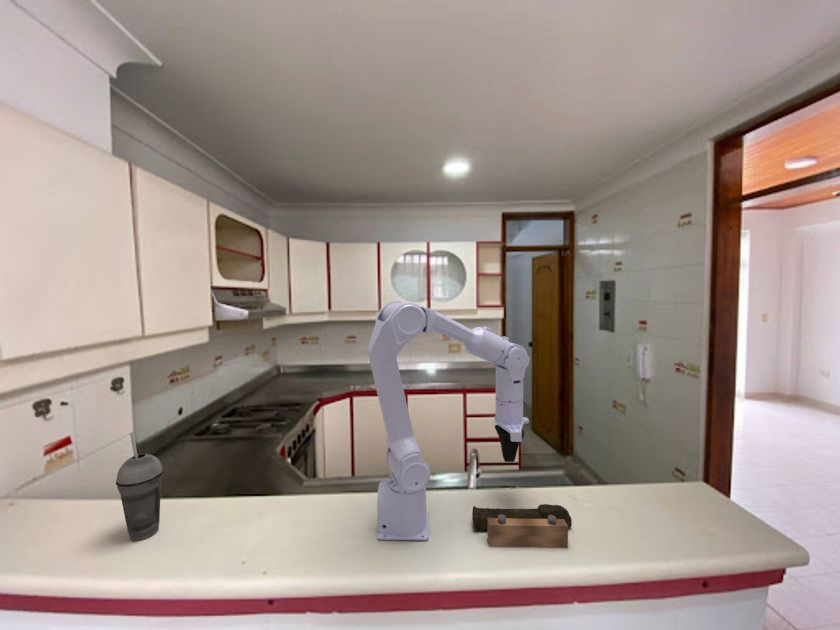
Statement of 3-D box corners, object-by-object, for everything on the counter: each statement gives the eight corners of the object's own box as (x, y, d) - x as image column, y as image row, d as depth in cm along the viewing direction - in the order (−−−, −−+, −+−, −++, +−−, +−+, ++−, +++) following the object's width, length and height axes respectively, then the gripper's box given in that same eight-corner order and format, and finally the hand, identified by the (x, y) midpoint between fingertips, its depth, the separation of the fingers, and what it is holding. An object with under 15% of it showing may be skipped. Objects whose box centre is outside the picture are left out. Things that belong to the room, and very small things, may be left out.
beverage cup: (143, 548, 65) (135, 442, 64) (109, 544, 67) (101, 439, 65) (176, 523, 72) (170, 426, 71) (145, 519, 74) (138, 424, 72)
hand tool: (472, 535, 68) (472, 511, 68) (471, 521, 72) (471, 499, 72) (575, 540, 67) (576, 516, 66) (568, 525, 70) (569, 503, 70)
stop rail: (488, 546, 65) (488, 519, 64) (487, 538, 67) (487, 513, 66) (567, 547, 64) (568, 520, 64) (563, 539, 66) (564, 513, 66)
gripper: (537, 410, 69) (537, 478, 70) (520, 389, 83) (519, 445, 84) (500, 409, 69) (500, 477, 70) (489, 388, 84) (489, 445, 85)
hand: (508, 460), depth 77 cm, fingers closed
